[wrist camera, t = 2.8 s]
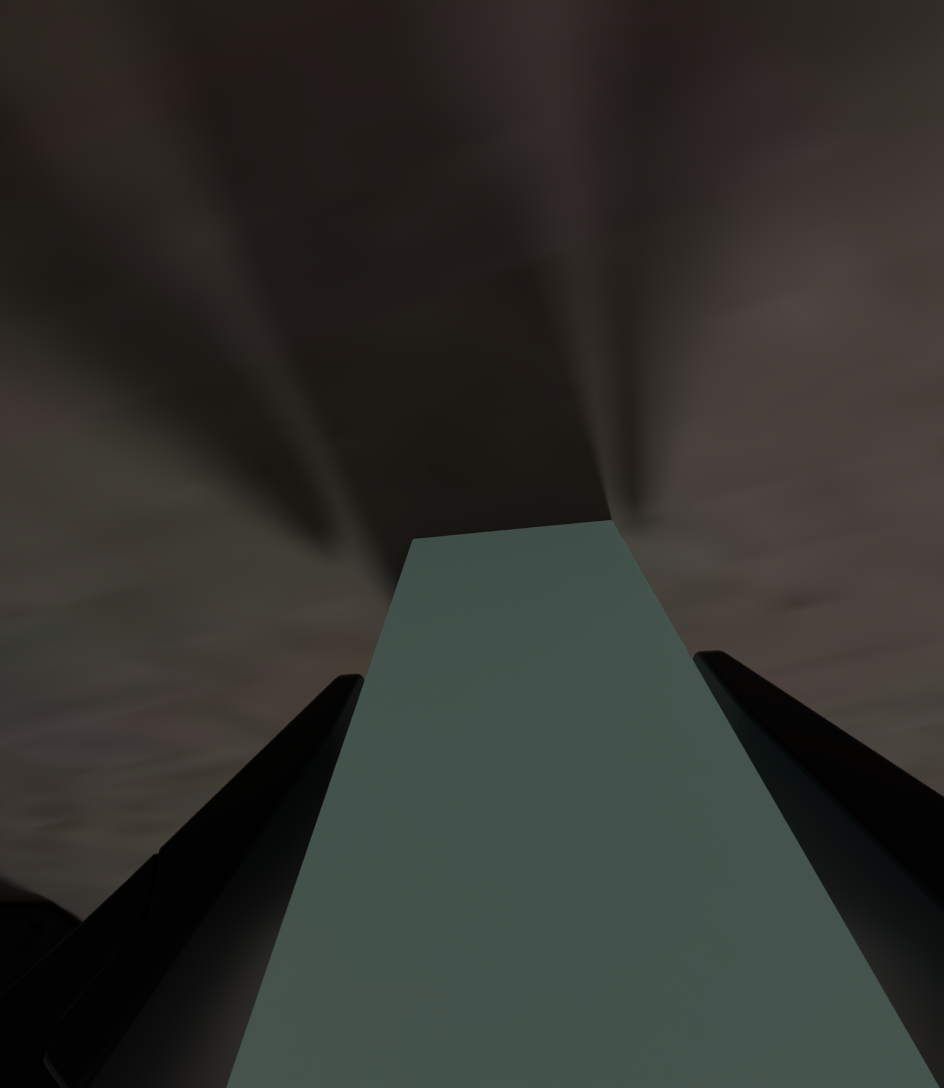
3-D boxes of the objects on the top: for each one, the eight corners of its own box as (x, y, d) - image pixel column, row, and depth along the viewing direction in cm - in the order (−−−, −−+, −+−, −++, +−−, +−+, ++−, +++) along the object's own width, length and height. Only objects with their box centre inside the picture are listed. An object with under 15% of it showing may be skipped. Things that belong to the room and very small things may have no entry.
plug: (443, 680, 11) (353, 1384, 4) (413, 539, 9) (113, 1427, 2) (607, 669, 10) (855, 1432, 3) (611, 520, 8) (1208, 1551, 1)
